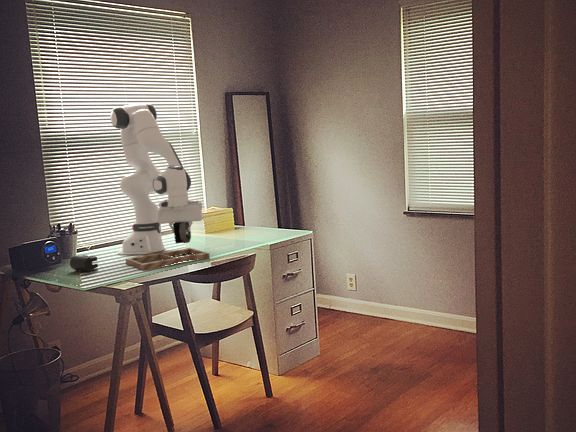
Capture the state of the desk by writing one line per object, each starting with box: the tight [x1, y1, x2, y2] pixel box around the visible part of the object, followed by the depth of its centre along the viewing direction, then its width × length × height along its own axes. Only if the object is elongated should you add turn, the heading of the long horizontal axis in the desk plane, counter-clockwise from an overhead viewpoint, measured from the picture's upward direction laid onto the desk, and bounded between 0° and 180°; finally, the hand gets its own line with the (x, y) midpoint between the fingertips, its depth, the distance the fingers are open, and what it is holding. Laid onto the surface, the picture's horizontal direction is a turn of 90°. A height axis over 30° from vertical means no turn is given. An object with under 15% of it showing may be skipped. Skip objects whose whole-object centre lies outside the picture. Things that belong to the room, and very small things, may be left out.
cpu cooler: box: [172, 222, 192, 244], centre depth 280 cm, size 10×6×10 cm, turn 175°
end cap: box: [69, 254, 99, 273], centre depth 266 cm, size 10×7×7 cm
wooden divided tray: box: [125, 247, 211, 271], centre depth 277 cm, size 32×20×2 cm, turn 125°
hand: (181, 232), depth 280 cm, fingers closed on cpu cooler, 5 cm apart
